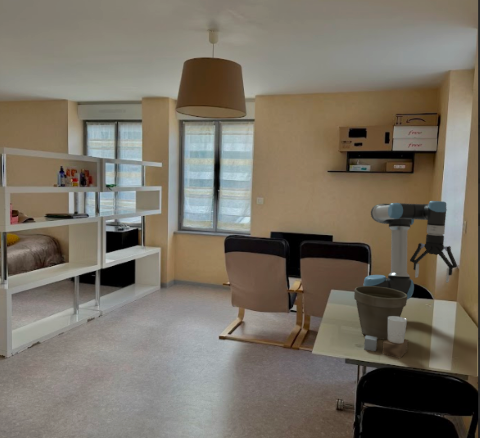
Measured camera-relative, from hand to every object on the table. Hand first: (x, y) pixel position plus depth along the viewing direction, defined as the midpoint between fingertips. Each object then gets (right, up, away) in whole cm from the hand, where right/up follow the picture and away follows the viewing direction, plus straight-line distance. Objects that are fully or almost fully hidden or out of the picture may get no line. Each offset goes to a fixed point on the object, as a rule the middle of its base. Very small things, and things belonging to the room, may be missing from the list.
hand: (431, 279), depth 203 cm
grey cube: (-31, -30, -8) cm, 44 cm away
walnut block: (-21, -30, -11) cm, 39 cm away
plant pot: (-21, -29, +12) cm, 38 cm away
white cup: (-21, -26, -12) cm, 35 cm away
